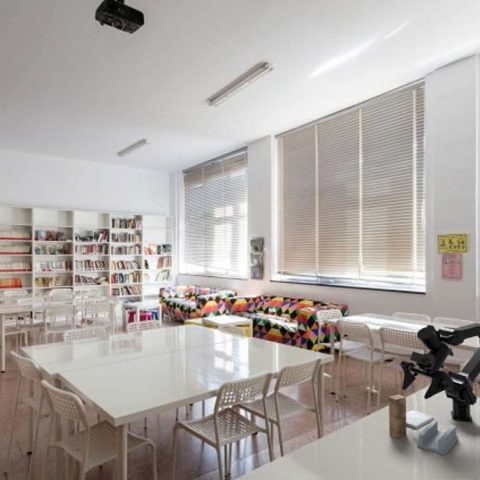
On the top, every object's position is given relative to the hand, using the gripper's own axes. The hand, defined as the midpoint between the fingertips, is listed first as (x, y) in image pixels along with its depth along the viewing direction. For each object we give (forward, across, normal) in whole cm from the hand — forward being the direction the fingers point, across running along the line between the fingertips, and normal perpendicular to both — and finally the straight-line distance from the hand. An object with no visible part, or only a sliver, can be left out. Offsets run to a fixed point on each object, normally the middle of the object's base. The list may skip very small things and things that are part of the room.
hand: (413, 393), depth 137 cm
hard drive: (+5, -6, +14) cm, 15 cm away
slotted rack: (+9, +10, +8) cm, 16 cm away
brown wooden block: (+14, 0, +3) cm, 14 cm away
